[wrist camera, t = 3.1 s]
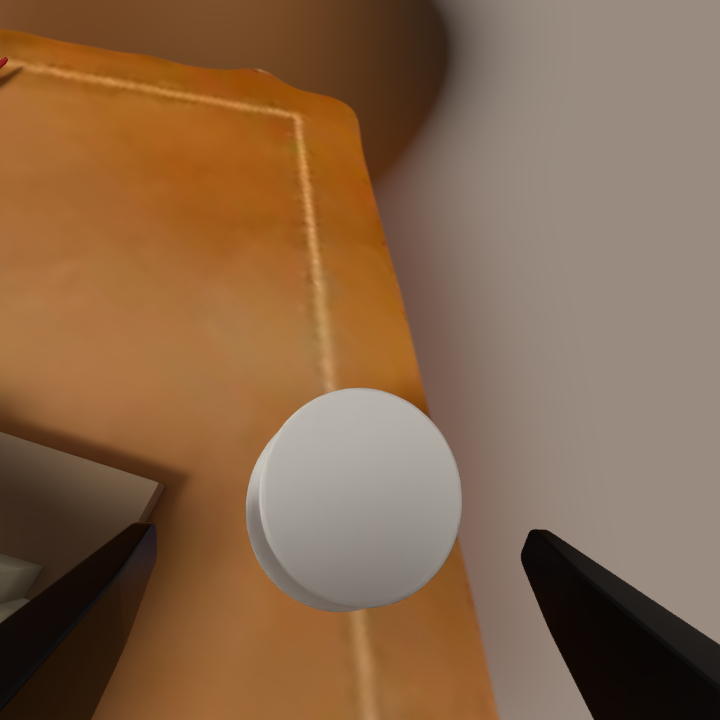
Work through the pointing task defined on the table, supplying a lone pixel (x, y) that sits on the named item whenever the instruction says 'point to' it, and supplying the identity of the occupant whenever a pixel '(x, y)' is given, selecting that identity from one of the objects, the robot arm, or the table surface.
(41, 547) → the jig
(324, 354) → the table surface
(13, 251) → the table surface
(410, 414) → the pill bottle
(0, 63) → the toy spaceship
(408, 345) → the table surface
